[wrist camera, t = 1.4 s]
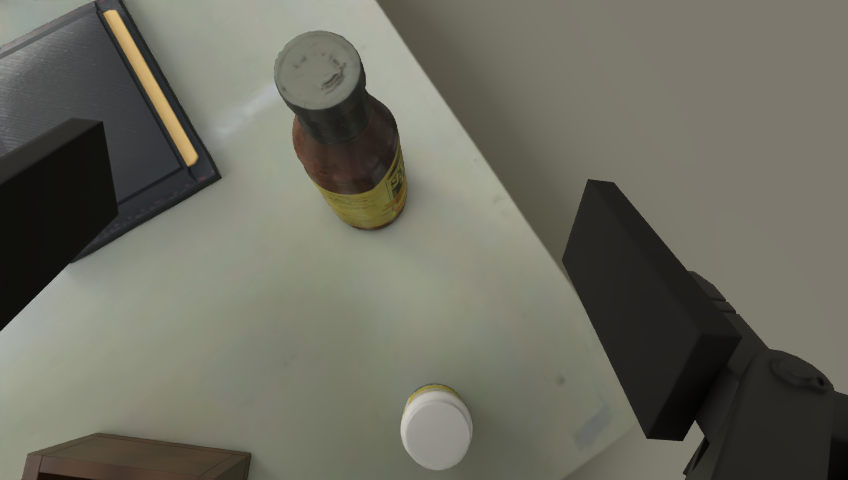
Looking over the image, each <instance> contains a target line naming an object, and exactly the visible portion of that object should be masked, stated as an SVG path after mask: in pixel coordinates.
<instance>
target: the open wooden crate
mask: <svg viewBox="0 0 848 480" xmlns="http://www.w3.org/2000/svg"><path fill="white" fill-rule="evenodd" d="M250 458H251V453H246V452H239V451H231V450H223V449H216V448H208V447H200V446H193V445H185V444H178V443H170V442H162V441H155V440H147V439H139V438H132V437H124V436H117V435H109V434H101V433H95V434H91V435H88V436H84V437H81V438H78V439H75V440H71V441H68V442H65V443H61V444H58V445H55V446H52V447H48V448H45V449H42V450H39V451H35V452H32V453H29V454H28V455H27V458H26V463H25V467H24V471H23V475H22V479H21V480H247V476H248V470H249V464H250Z"/></svg>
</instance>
